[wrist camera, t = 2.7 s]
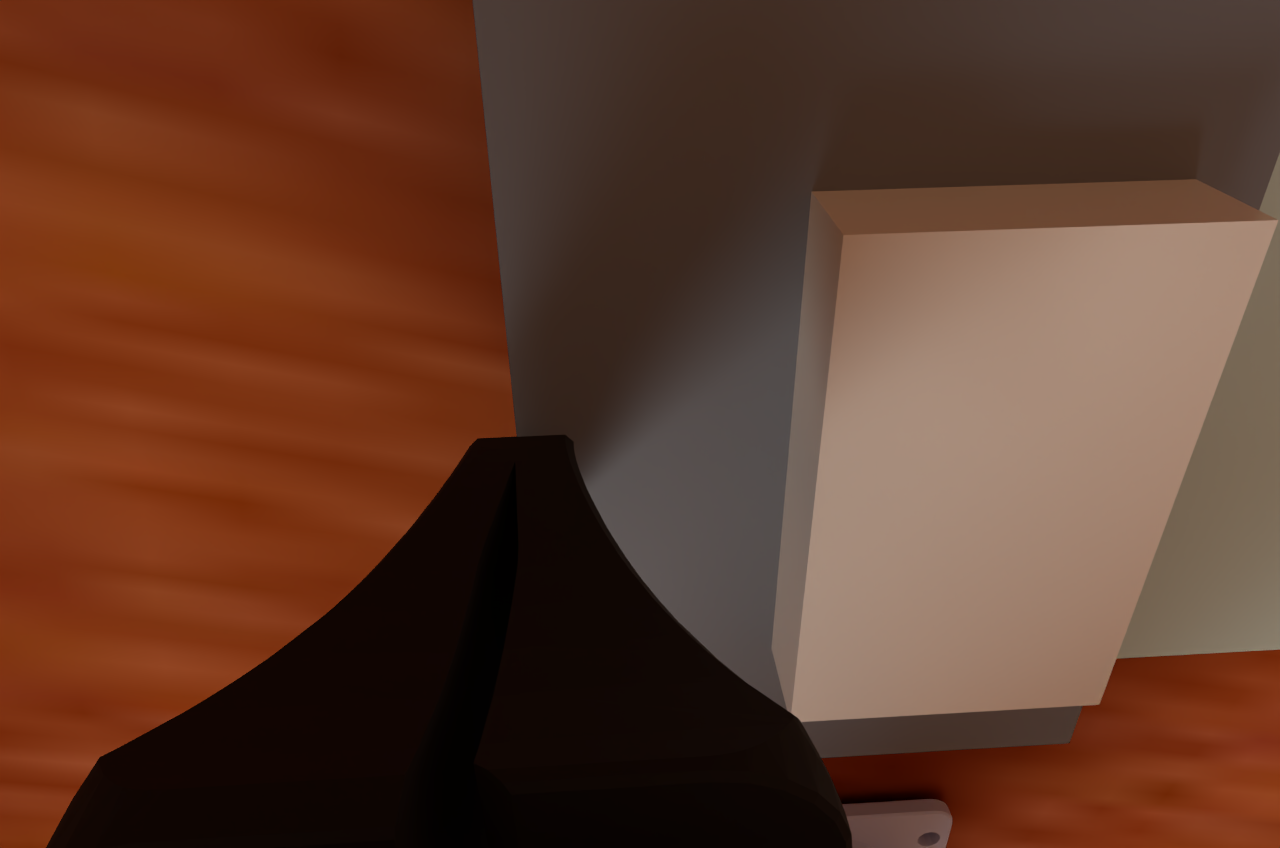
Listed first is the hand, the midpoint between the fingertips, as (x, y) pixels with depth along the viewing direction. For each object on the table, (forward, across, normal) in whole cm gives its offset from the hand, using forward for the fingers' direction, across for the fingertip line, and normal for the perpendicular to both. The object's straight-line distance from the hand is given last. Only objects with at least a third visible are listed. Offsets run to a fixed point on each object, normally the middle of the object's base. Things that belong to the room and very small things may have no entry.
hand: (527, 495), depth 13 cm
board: (+3, -5, 0) cm, 6 cm away
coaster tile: (+1, -6, 0) cm, 6 cm away
